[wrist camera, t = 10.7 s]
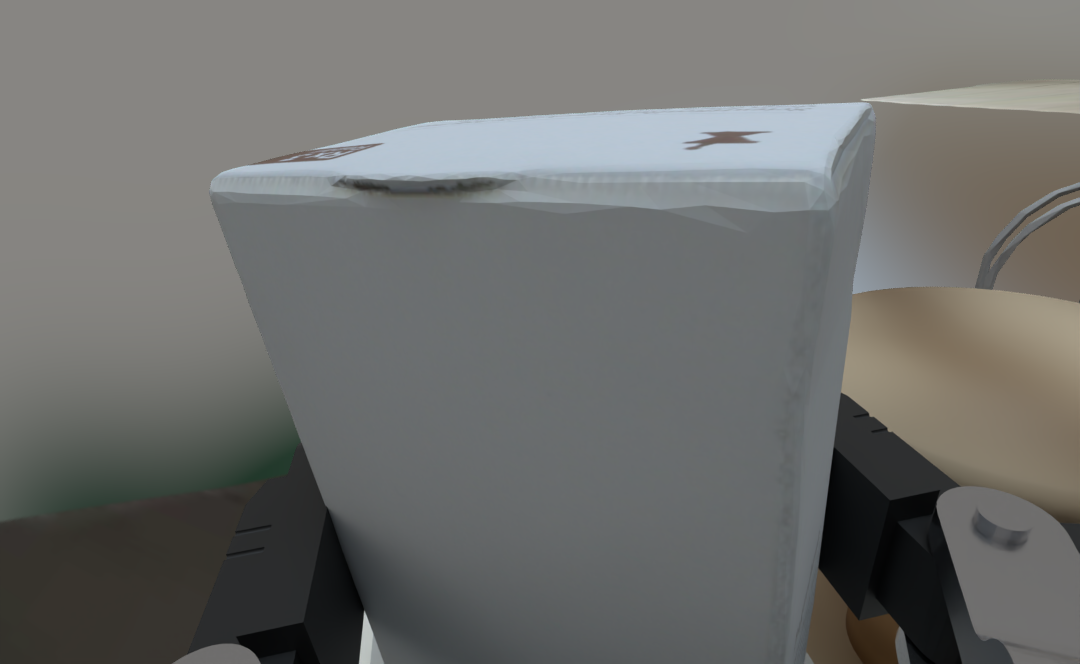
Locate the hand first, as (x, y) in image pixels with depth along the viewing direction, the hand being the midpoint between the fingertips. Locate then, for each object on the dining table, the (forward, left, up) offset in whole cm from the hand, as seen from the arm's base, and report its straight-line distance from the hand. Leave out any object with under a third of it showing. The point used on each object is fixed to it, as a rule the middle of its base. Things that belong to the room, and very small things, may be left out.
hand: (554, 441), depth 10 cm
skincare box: (0, +2, -7) cm, 7 cm away
